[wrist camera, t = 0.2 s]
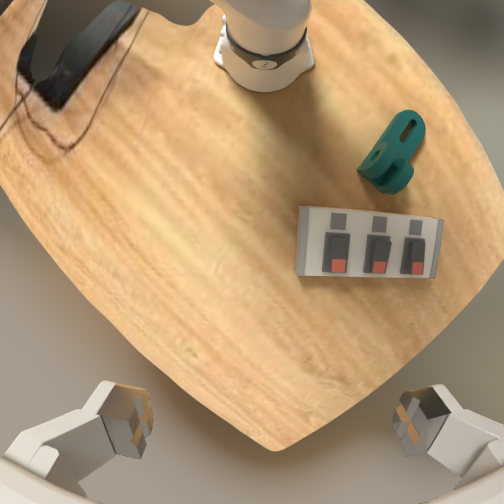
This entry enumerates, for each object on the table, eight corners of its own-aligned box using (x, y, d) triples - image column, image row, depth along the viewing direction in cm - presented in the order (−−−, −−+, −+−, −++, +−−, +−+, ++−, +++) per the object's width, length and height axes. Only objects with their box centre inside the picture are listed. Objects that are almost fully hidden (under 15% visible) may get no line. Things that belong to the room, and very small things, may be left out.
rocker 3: (410, 241, 50) (413, 241, 49) (422, 242, 50) (425, 242, 49) (407, 273, 50) (410, 274, 49) (420, 273, 50) (423, 274, 49)
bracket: (381, 193, 53) (399, 195, 45) (356, 170, 52) (371, 169, 45) (425, 127, 50) (445, 122, 42) (402, 105, 49) (420, 96, 41)
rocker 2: (374, 239, 49) (377, 241, 48) (389, 240, 49) (392, 242, 48) (368, 270, 51) (370, 273, 50) (383, 270, 51) (385, 273, 50)
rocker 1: (330, 236, 50) (332, 236, 49) (346, 237, 50) (348, 237, 49) (328, 271, 50) (329, 272, 49) (344, 272, 50) (346, 273, 49)
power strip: (298, 205, 54) (302, 207, 49) (432, 217, 54) (444, 220, 49) (294, 268, 56) (297, 276, 52) (424, 272, 56) (435, 279, 52)
